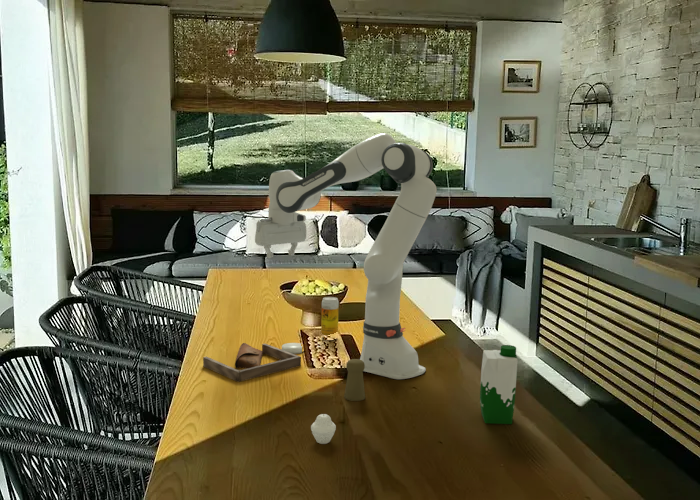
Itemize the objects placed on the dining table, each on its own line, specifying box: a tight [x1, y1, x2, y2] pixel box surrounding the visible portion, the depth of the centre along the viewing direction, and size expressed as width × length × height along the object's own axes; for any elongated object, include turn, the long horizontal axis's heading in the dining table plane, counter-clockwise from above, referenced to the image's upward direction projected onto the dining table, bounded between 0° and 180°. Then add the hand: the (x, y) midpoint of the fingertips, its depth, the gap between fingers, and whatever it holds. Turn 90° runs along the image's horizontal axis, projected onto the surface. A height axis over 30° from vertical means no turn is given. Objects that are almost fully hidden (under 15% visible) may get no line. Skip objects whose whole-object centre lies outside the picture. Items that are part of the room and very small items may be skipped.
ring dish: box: [281, 342, 302, 355], centre depth 258 cm, size 8×8×2 cm
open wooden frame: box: [202, 343, 302, 383], centre depth 240 cm, size 19×24×3 cm
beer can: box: [320, 296, 340, 335], centre depth 272 cm, size 6×6×15 cm
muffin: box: [310, 413, 337, 445], centre depth 184 cm, size 6×6×7 cm
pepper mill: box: [343, 358, 366, 402], centre depth 214 cm, size 6×6×11 cm
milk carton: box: [479, 344, 519, 425], centre depth 200 cm, size 9×9×20 cm
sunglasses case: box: [234, 342, 264, 369], centre depth 246 cm, size 18×7×7 cm, turn 4°
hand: (280, 256), depth 261 cm, fingers open, 8 cm apart
